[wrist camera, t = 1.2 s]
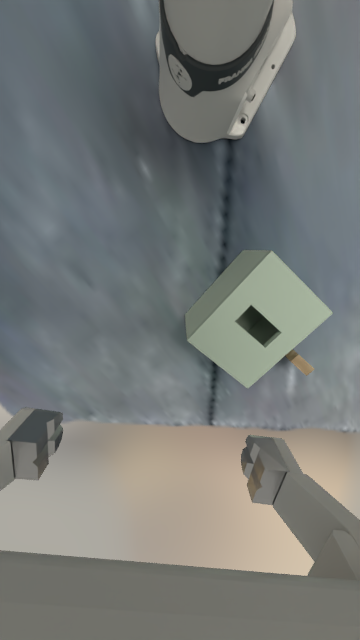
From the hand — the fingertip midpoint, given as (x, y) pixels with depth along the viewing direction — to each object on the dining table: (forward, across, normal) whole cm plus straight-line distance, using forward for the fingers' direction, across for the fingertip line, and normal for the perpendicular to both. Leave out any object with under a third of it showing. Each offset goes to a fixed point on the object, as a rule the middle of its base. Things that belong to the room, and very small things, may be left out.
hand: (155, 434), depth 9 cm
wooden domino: (+38, -28, +10) cm, 48 cm away
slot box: (+38, -14, +1) cm, 41 cm away
